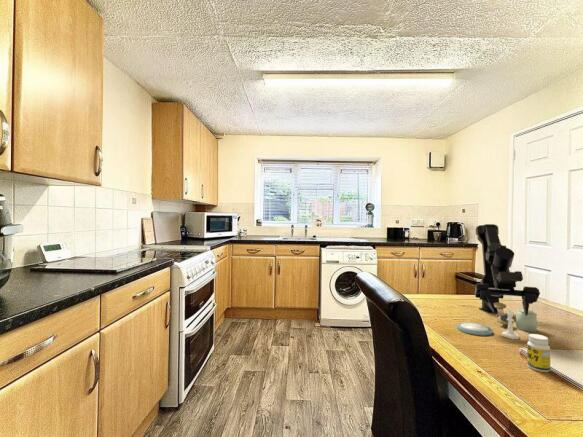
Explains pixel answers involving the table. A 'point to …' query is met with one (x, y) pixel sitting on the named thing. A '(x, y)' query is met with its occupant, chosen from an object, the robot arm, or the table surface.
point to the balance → (501, 313)
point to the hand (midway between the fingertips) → (510, 313)
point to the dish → (474, 329)
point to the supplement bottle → (538, 353)
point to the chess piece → (510, 327)
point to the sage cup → (526, 321)
